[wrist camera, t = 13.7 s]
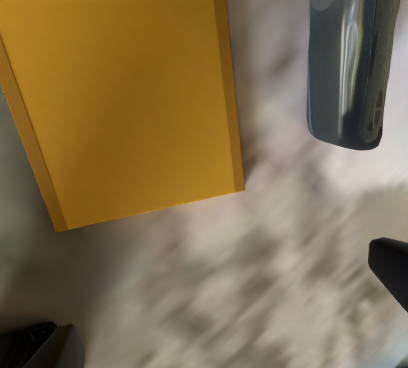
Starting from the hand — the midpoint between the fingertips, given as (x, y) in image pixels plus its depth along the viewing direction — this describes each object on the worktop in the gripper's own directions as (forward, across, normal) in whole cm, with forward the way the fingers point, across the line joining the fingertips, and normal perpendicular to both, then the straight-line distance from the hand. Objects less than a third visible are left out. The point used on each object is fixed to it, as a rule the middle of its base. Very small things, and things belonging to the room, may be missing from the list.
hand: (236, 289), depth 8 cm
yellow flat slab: (+12, +2, -8) cm, 14 cm away
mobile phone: (+12, -11, -8) cm, 18 cm away
